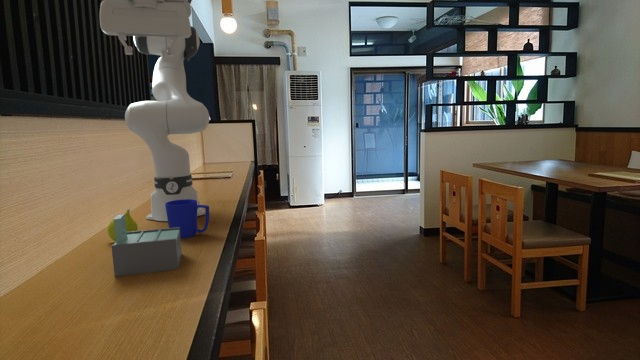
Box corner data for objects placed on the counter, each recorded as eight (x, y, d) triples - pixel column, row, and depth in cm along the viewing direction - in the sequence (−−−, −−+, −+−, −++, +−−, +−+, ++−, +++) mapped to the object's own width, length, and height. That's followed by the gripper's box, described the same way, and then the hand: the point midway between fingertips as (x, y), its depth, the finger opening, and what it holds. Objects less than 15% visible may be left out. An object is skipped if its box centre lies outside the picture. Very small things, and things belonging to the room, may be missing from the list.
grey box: (125, 262, 85) (122, 232, 84) (182, 256, 89) (179, 227, 88) (115, 279, 76) (111, 245, 75) (178, 272, 79) (175, 239, 78)
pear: (143, 240, 102) (140, 204, 101) (117, 248, 97) (113, 209, 95) (130, 236, 106) (127, 202, 105) (104, 243, 101) (100, 206, 99)
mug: (202, 243, 99) (200, 205, 97) (161, 241, 101) (158, 204, 100) (217, 234, 107) (215, 199, 105) (178, 232, 109) (176, 198, 108)
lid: (122, 238, 84) (119, 212, 83) (179, 232, 87) (177, 208, 86) (113, 249, 76) (110, 221, 75) (176, 243, 79) (174, 216, 78)
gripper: (191, 2, 97) (194, 58, 99) (102, -3, 91) (108, 56, 93) (189, -6, 91) (193, 53, 93) (94, -13, 85) (100, 51, 87)
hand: (150, 55), depth 93 cm, fingers open, 8 cm apart
